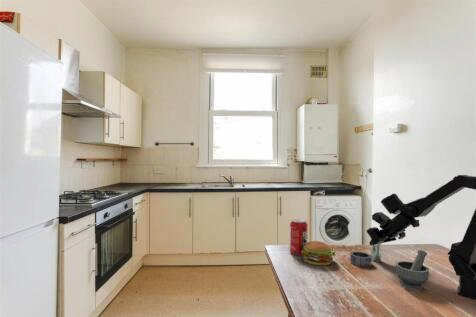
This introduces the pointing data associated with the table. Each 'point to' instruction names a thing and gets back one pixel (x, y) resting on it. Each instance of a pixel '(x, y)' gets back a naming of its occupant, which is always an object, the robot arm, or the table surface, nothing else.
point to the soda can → (298, 235)
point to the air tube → (376, 252)
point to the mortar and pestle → (413, 272)
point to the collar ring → (361, 259)
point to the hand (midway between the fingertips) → (373, 243)
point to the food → (317, 253)
